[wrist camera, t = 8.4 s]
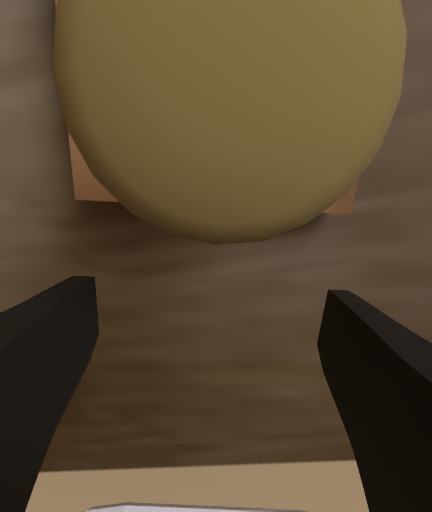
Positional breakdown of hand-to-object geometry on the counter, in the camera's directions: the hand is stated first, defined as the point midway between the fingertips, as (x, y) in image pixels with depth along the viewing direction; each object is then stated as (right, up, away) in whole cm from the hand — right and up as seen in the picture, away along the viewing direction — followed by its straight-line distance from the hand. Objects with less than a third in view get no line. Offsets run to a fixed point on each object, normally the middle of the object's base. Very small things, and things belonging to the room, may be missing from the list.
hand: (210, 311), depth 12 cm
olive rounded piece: (0, +8, +3) cm, 9 cm away
